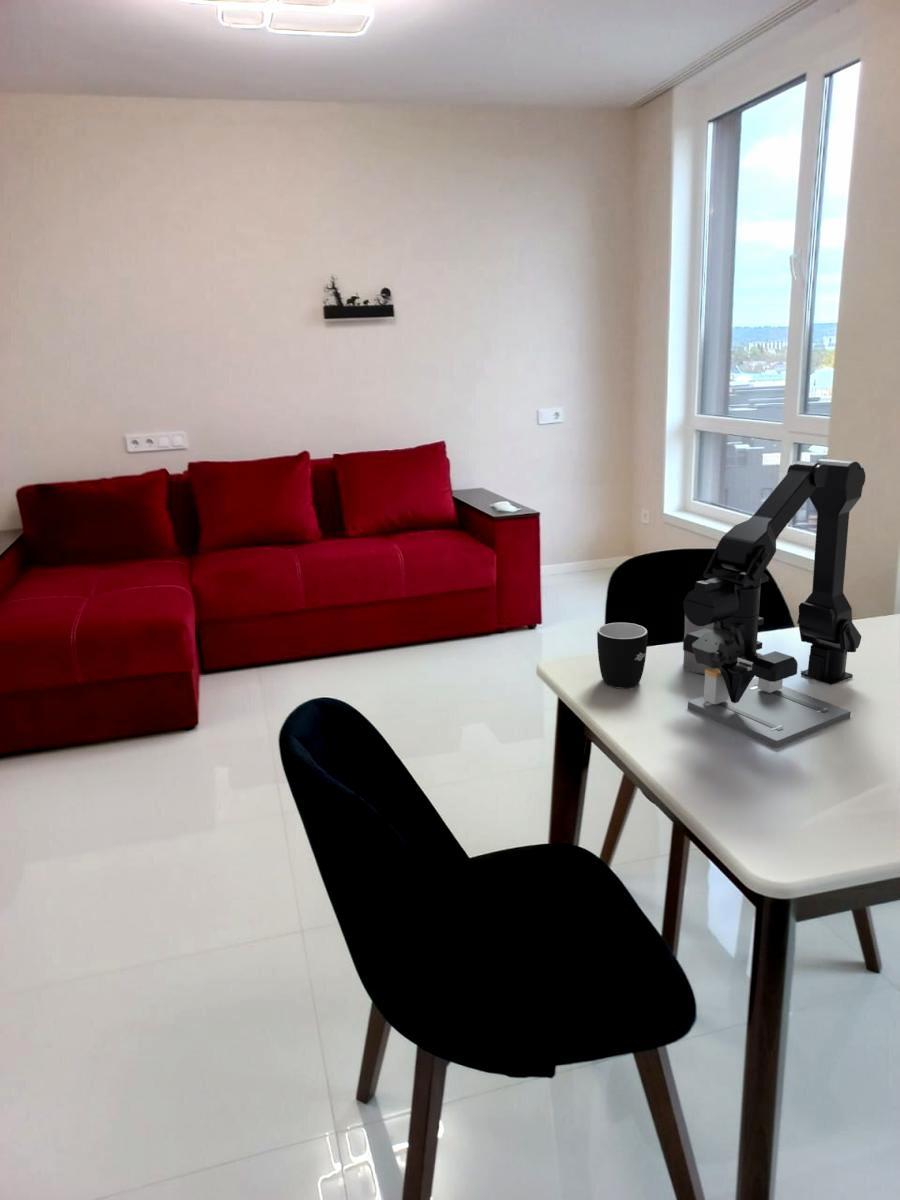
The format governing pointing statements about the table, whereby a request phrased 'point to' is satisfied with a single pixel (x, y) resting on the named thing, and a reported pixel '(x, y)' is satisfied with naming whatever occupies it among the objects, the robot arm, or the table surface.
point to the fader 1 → (715, 686)
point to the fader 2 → (769, 685)
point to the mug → (622, 653)
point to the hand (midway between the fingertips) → (734, 702)
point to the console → (773, 714)
